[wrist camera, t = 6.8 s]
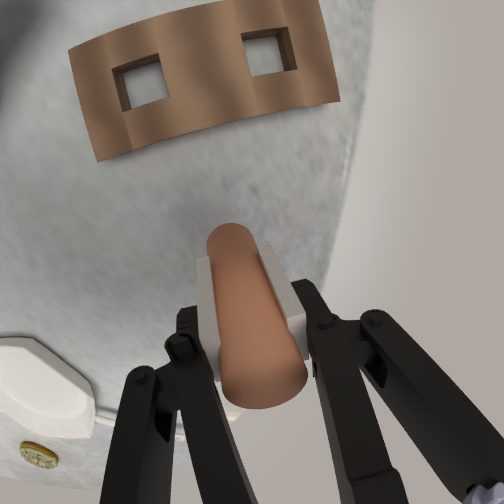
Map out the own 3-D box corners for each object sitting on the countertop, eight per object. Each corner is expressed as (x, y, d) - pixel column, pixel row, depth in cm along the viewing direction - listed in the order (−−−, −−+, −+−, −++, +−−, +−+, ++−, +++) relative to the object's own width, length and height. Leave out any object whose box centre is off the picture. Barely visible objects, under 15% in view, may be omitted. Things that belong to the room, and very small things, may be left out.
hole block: (109, 155, 31) (97, 162, 27) (83, 55, 25) (67, 50, 21) (323, 100, 32) (340, 101, 28) (301, 3, 26) (315, -9, 22)
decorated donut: (57, 463, 58) (55, 475, 54) (21, 449, 54) (19, 460, 50) (60, 451, 54) (57, 463, 51) (21, 434, 50) (18, 446, 47)
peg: (212, 270, 22) (232, 415, 12) (201, 229, 21) (212, 366, 10) (257, 260, 22) (309, 396, 12) (249, 218, 21) (305, 343, 10)
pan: (-28, 301, 34) (-41, 317, 30) (206, 379, 48) (208, 401, 44) (-9, 397, 44) (-15, 412, 40) (167, 452, 57) (167, 469, 53)
